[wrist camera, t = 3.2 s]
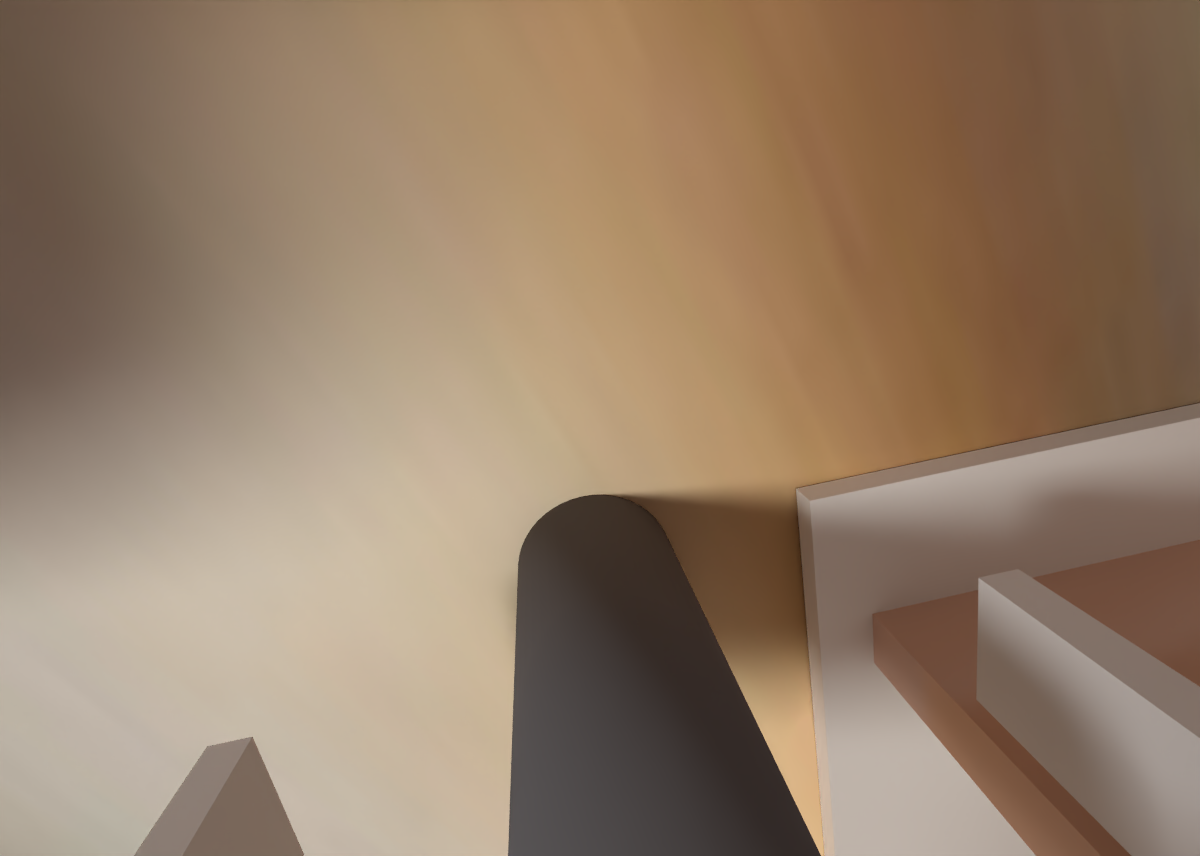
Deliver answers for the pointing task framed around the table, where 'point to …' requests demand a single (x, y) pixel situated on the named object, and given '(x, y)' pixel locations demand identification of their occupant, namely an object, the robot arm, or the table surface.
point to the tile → (977, 740)
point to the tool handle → (631, 704)
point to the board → (950, 567)
